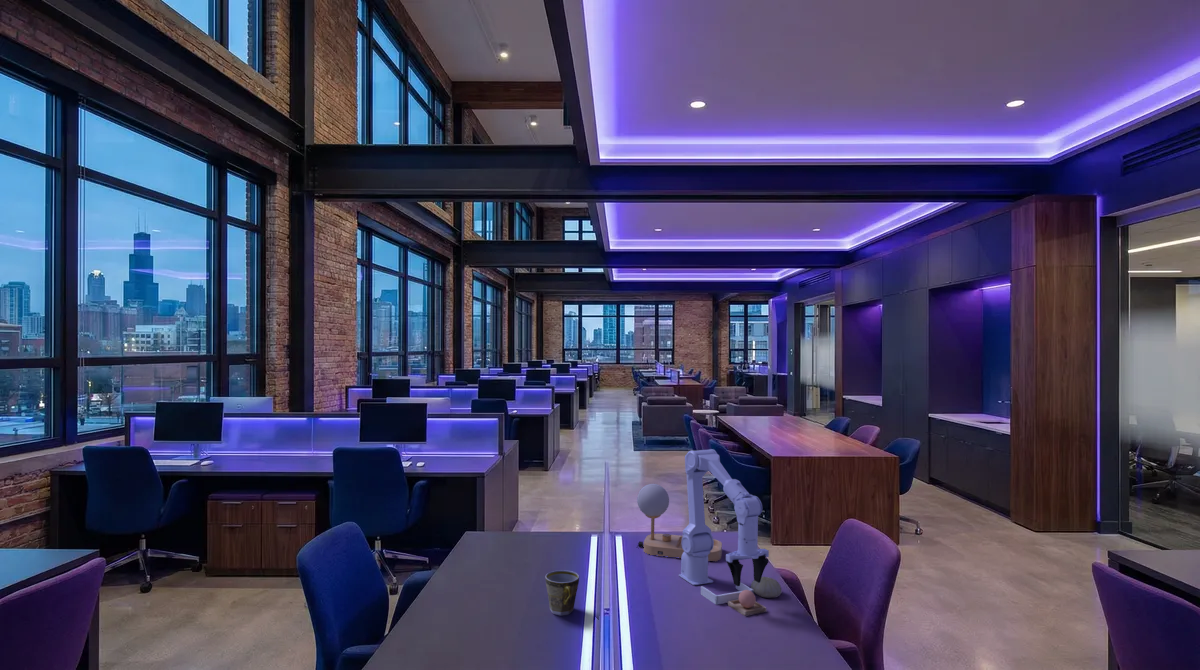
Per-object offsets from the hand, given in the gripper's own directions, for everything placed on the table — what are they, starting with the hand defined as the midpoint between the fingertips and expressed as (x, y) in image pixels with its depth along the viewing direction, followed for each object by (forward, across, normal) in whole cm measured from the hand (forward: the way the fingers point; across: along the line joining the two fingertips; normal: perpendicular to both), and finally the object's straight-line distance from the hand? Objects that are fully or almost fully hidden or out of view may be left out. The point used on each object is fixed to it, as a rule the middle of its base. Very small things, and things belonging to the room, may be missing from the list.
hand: (747, 583), depth 177 cm
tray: (+8, 0, 0) cm, 8 cm away
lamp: (+8, +8, +52) cm, 54 cm away
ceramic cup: (+8, -52, +17) cm, 56 cm away
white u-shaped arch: (+8, 0, +10) cm, 12 cm away
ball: (+7, 0, 0) cm, 7 cm away
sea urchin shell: (+8, +13, +7) cm, 17 cm away
